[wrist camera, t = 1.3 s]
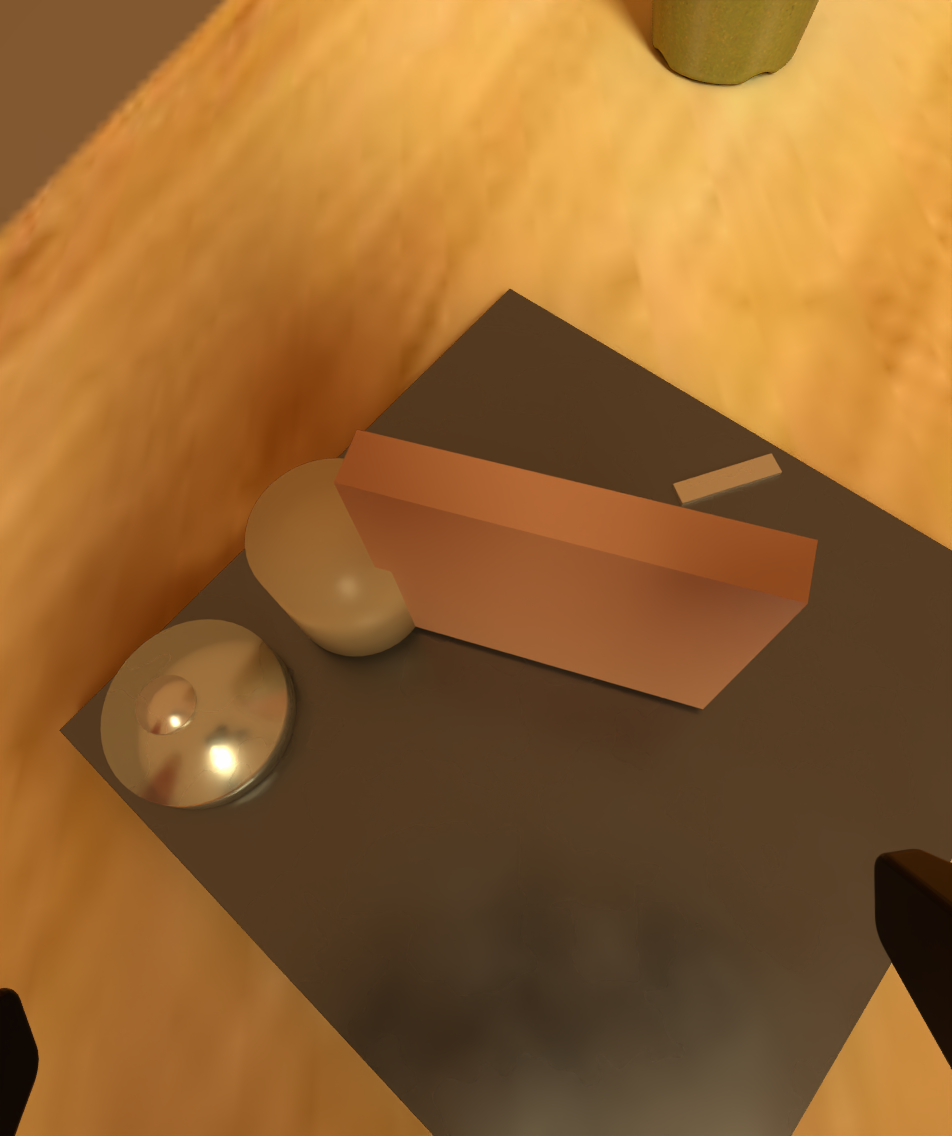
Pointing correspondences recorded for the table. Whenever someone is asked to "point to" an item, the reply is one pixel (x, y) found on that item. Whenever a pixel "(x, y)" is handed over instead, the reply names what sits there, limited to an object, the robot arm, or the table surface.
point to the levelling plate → (564, 788)
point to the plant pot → (728, 36)
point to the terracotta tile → (522, 567)
